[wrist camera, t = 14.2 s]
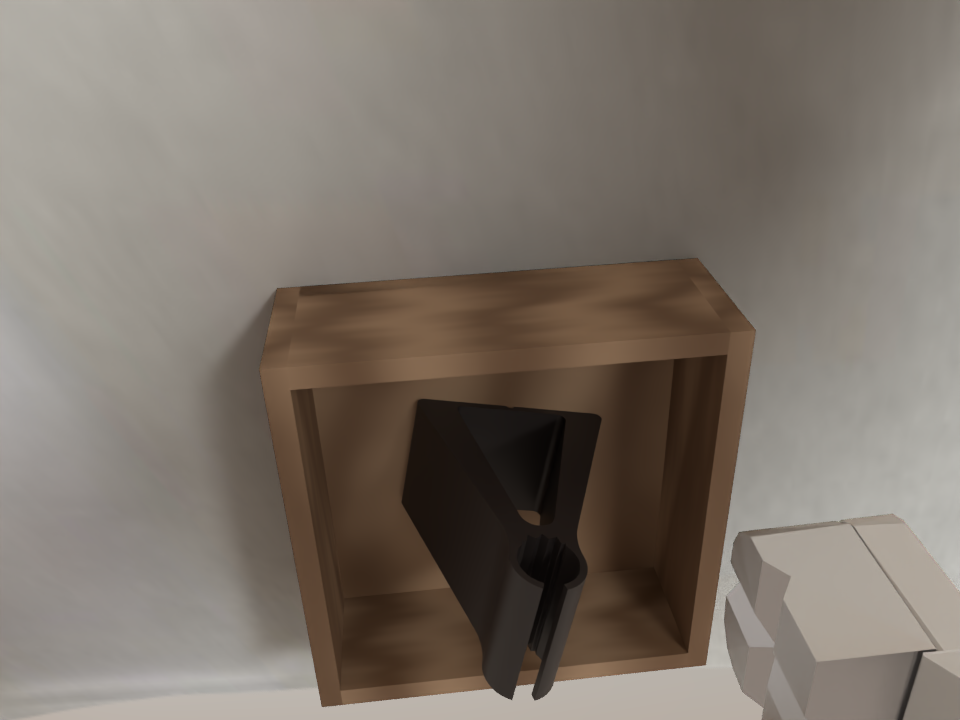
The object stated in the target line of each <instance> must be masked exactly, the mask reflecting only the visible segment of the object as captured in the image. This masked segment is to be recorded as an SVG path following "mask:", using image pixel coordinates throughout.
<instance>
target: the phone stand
mask: <svg viewBox="0 0 960 720" xmlns="http://www.w3.org/2000/svg"><path fill="white" fill-rule="evenodd" d="M601 421H602V419H601V417H600V416H599V415H597V414H592V413H581V412H570V411H558V410H547V409H535V408H524V407H514V408H508V407H507V406H501V405H490V404H478V403H467V402H456V401H444V400H433V399H420V400H418V402H417V408H416V414H415V421H414V427H413V433H412V439H411V445H410V452H409V458H408V464H407V470H406V477H405V483H404V489H403V495H402V501H401V503H402V505H403V507H404V508H405V510H406V512H407V514H408V515H409V517H410V519H411V520H412V522H413V524H414V526H415V527H416V529H417V531H418V533H419V534H420V536H421V538H422V539H423V541H424V543H425V545H426V546H427V548H428V550H429V551H430V553H431V555H432V557H433V558H434V560H435V562H436V564H437V565H438V567H439V569H440V570H441V572H442V574H443V576H444V577H445V579H446V581H447V583H448V584H449V586H450V588H451V589H452V591H453V593H454V595H455V596H456V598H457V600H458V602H459V603H460V605H461V607H462V608H463V610H464V612H465V614H466V615H467V617H468V619H469V620H470V622H471V624H472V626H473V627H474V629H475V631H476V633H477V635H478V637H479V640H480V643H481V647H482V655H483V656H482V671H483V675H484V677H485V679H486V681H487V683H488V684H489V685H490V686H491V687H492V688H493V689H494V690H495V691H496V692H497V693H499V694H500V695H502V696H504V697H506V698H508V699H511V700H512V698H513V695H514V691H515V688H516V684H517V680H518V677H519V673H520V670H521V666H522V662H523V659H524V655H525V652H526V648H527V645H528V647H529V649H530V651H535V653H536V655H537V656H538V657H539V658H540V659H541V660H542V661H541V664H540V668H539V671H538V675H537V678H536V681H535V685H534V688H533V692H532V696H533V698H534V700H538V699H540V698H542V697H544V696H545V695H546V694H547V693H548V692H549V691H550V690H551V688H552V686H553V683H554V680H555V677H556V673H557V670H558V667H559V664H560V661H561V657H562V654H563V651H564V648H565V644H566V641H567V638H568V635H569V631H570V628H571V625H572V622H573V618H574V615H575V612H576V609H577V606H578V602H579V599H580V596H581V593H582V589H583V586H584V583H585V580H586V576H587V573H588V566H587V562H586V559H585V558H584V556H583V554H582V552H581V550H580V547H579V544H578V539H577V529H578V524H579V520H580V515H581V511H582V506H583V502H584V497H585V493H586V488H587V484H588V479H589V475H590V470H591V466H592V461H593V457H594V452H595V448H596V443H597V439H598V434H599V430H600V425H601ZM517 510H526V511H535V512H537V513H538V514H539V515H540V524H539V525H534V524H531V523H528V522H527V521H525V520H524V519H523V518H522V517H521V516H520V514H519V513H518V511H517Z"/></svg>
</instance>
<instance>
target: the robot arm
mask: <svg viewBox="0 0 960 720" xmlns="http://www.w3.org/2000/svg"><path fill="white" fill-rule="evenodd" d="M731 564H732V566H733V568H734V571H735V573H736V575H737V577H738V579H739V581H740V582H739V583H738V584H737V585H736V586H735V587H734V588H733V589H732V590H731V591H730V592H729V593H728V594H727V595H726V605H725V616H724V624H725V632H726V641H727V649H728V652H729V656H730V659H731V663H732V666H733V670H734V672H735V675H736V677H737V680H738V682H739V685H740V687H741V690H742V692H743V693H744V694H746V695H747V696H748V697H750V698H751V699H753V700H754V701H755V702H756V703H758V704H759V705H760V706H762V707H763V708H764V709H763V715H762V720H960V592H959V590H958V589H957V588H956V587H955V585H954V584H953V583H952V581H951V580H950V579H949V578H948V576H947V575H946V574H945V572H944V571H943V570H942V569H941V567H940V566H939V565H938V563H937V562H936V561H935V560H934V558H933V557H932V556H931V554H930V553H929V552H928V551H927V549H926V548H925V547H924V546H923V544H922V543H921V542H920V540H919V539H918V538H917V537H916V535H915V534H914V533H913V531H912V530H911V529H910V528H909V526H908V525H907V524H906V522H905V521H904V520H902V519H901V518H899V517H897V516H895V515H894V514H887V515H879V516H870V517H862V518H853V519H845V520H841V521H839V522H838V521H830V522H821V523H813V524H804V525H795V526H787V527H778V528H769V529H761V530H752V531H744V532H739V533H738V535H737V537H736V539H735V541H734V543H733V549H732V556H731Z"/></svg>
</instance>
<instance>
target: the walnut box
mask: <svg viewBox="0 0 960 720" xmlns="http://www.w3.org/2000/svg"><path fill="white" fill-rule="evenodd" d="M755 332H756V330H755V329H754V327H753V326H752V325H751V324H750V323H749V321H748V320H747V319H746V318H745V316H744V315H743V314H742V313H741V311H740V310H739V309H738V308H737V306H736V305H735V304H734V303H733V301H732V300H731V299H730V298H729V296H728V295H727V294H726V293H725V291H724V290H723V289H722V288H721V287H720V285H719V284H718V283H717V282H716V280H715V279H714V278H713V277H712V275H711V274H710V273H709V272H708V270H707V269H706V268H705V267H704V265H703V264H702V263H701V262H700V260H699V259H698V258H693V259H679V260H665V261H651V262H637V263H623V264H609V265H596V266H582V267H568V268H554V269H540V270H526V271H512V272H499V273H485V274H471V275H457V276H443V277H429V278H415V279H402V280H388V281H374V282H360V283H346V284H332V285H318V286H305V287H291V288H277V292H276V296H275V301H274V305H273V310H272V314H271V319H270V323H269V328H268V332H267V336H266V341H265V345H264V350H263V354H262V359H261V363H260V368H259V372H260V377H261V382H262V388H263V393H264V398H265V404H266V409H267V415H268V420H269V425H270V431H271V436H272V441H273V447H274V452H275V458H276V463H277V468H278V474H279V479H280V484H281V490H282V495H283V501H284V506H285V511H286V517H287V522H288V527H289V533H290V538H291V544H292V549H293V554H294V560H295V565H296V570H297V576H298V581H299V587H300V592H301V597H302V603H303V608H304V613H305V619H306V624H307V630H308V635H309V640H310V646H311V651H312V656H313V662H314V667H315V673H316V678H317V683H318V689H319V694H320V700H321V705H322V707H326V706H336V705H345V704H354V703H363V702H372V701H382V700H391V699H400V698H409V697H418V696H427V695H437V694H445V693H454V692H464V691H472V690H482V689H492V687H491V686H490V685H489V684H488V683H487V681H486V679H485V677H484V675H483V671H482V656H483V655H482V647H481V643H480V640H479V637H478V635H477V633H476V631H475V629H474V627H473V626H472V624H471V622H470V620H469V619H468V617H467V615H466V614H465V612H464V610H463V608H462V607H461V605H460V603H459V602H458V600H457V598H456V596H455V595H454V593H453V591H452V589H451V588H450V586H449V584H448V583H447V581H446V579H445V577H444V576H443V574H442V572H441V570H440V569H439V567H438V565H437V564H436V562H435V560H434V558H433V557H432V555H431V553H430V551H429V550H428V548H427V546H426V545H425V543H424V541H423V539H422V538H421V536H420V534H419V533H418V531H417V529H416V527H415V526H414V524H413V522H412V520H411V519H410V517H409V515H408V514H407V512H406V510H405V508H404V507H403V505H402V503H401V501H402V495H403V489H404V483H405V477H406V470H407V464H408V458H409V452H410V445H411V439H412V433H413V427H414V421H415V414H416V408H417V402H418V400H420V399H433V400H444V401H456V402H467V403H478V404H490V405H501V406H507V407H508V408H514V407H524V408H535V409H547V410H558V411H570V412H581V413H592V414H597V415H599V416H600V417H601V419H602V421H601V425H600V430H599V434H598V439H597V443H596V448H595V452H594V457H593V461H592V466H591V470H590V475H589V479H588V484H587V488H586V493H585V497H584V502H583V506H582V511H581V515H580V520H579V524H578V529H577V539H578V544H579V547H580V550H581V552H582V554H583V556H584V558H585V559H586V562H587V566H588V573H587V576H586V580H585V583H584V586H583V589H582V593H581V596H580V599H579V602H578V606H577V609H576V612H575V615H574V618H573V622H572V625H571V628H570V631H569V635H568V638H567V641H566V644H565V648H564V651H563V654H562V657H561V661H560V664H559V667H558V670H557V673H556V677H555V680H554V682H555V681H564V680H574V679H583V678H592V677H602V676H611V675H620V674H628V673H638V672H647V671H657V670H666V669H675V668H684V667H693V666H702V665H706V660H707V653H708V646H709V640H710V633H711V626H712V620H713V613H714V606H715V600H716V593H717V586H718V580H719V573H720V566H721V560H722V553H723V546H724V539H725V533H726V526H727V519H728V513H729V506H730V499H731V493H732V486H733V479H734V473H735V466H736V459H737V453H738V446H739V439H740V432H741V426H742V419H743V412H744V406H745V399H746V392H747V386H748V379H749V372H750V366H751V359H752V352H753V345H754V339H755ZM517 511H518V513H519V514H520V516H521V517H522V518H523V519H524V520H525V521H527V522H528V523H531V524H534V525H539V524H540V515H539V514H538V513H537V512H535V511H526V510H517ZM541 661H542V660H541V659H540V658H539V657H538V656H537V655H536V653H535V651H530V649H529V647H528V645H527V648H526V652H525V655H524V659H523V662H522V666H521V670H520V673H519V677H518V680H517V684H516V686H519V685H528V684H535V681H536V678H537V675H538V671H539V668H540V664H541Z"/></svg>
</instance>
